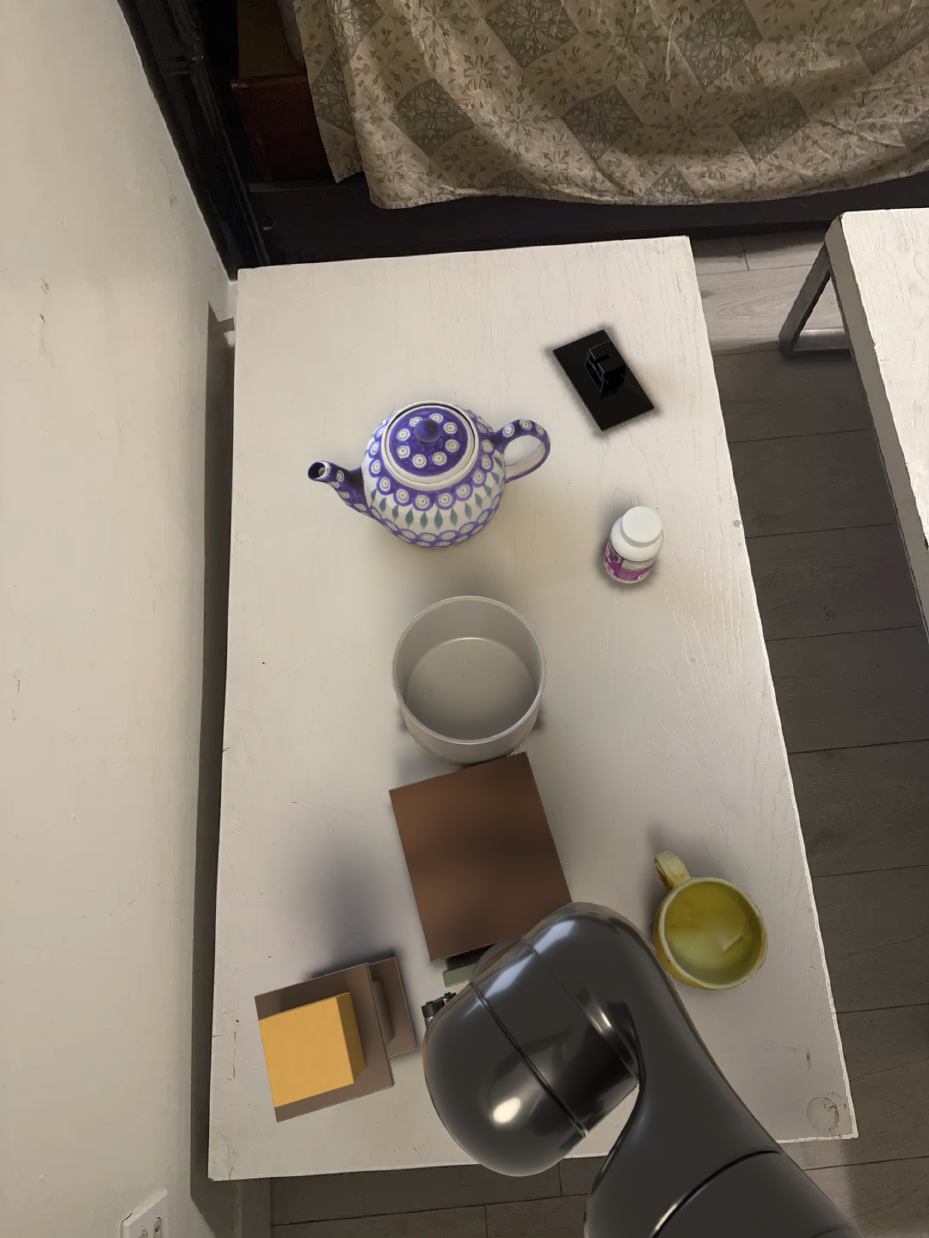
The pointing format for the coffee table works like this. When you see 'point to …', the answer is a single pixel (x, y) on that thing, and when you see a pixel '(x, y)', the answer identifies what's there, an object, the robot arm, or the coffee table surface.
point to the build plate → (603, 380)
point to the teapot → (433, 472)
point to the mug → (707, 929)
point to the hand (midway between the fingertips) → (519, 987)
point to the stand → (376, 1020)
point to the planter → (469, 679)
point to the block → (312, 1049)
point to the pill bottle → (634, 545)
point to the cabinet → (479, 854)
